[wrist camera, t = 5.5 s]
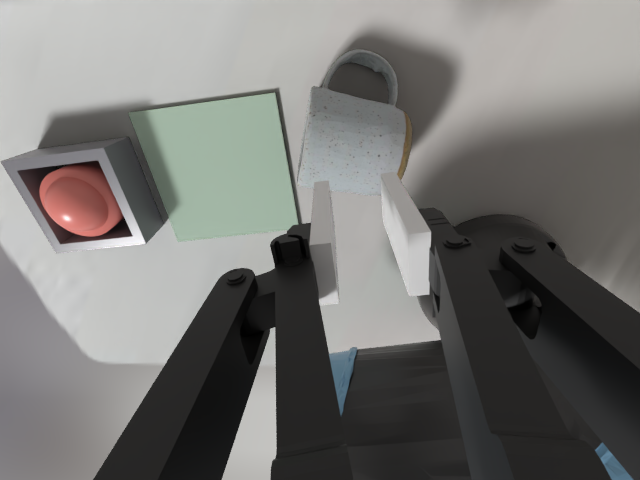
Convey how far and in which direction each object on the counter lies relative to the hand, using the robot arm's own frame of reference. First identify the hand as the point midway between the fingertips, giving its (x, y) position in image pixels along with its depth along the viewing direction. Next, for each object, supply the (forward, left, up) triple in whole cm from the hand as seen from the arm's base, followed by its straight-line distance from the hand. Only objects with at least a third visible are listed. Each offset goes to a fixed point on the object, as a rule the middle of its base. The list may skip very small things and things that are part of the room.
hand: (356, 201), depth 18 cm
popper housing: (+24, +2, -14) cm, 28 cm away
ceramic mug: (-1, -2, -15) cm, 15 cm away
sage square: (+12, +2, -14) cm, 19 cm away
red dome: (+24, +2, -14) cm, 28 cm away
